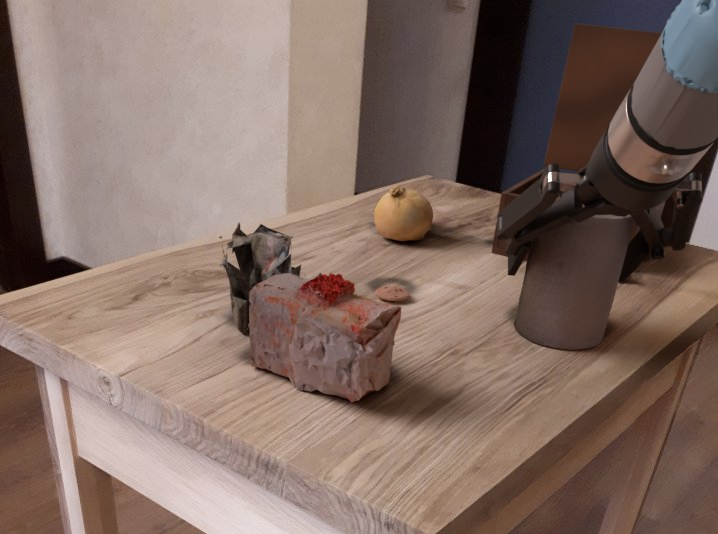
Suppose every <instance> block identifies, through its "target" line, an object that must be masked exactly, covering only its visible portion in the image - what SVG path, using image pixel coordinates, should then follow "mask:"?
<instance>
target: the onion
mask: <svg viewBox="0 0 718 534" xmlns="http://www.w3.org/2000/svg"><path fill="white" fill-rule="evenodd" d="M433 221H434V210H433V207H432V205H431V202H430V201H429V200H428V198H427V197H425V196H424V195H423V193H420V192H419V191H417V190H414V189H411V188H406V187H404V186H400V184H399V185H398V184H397V185H395V186H394V187H390V190H389V191H388V192H386V193H384V195H383V196H382V197H381V198H380V199H379V201H378V202H377V204H376V207H375V209H374V211H373V222H374V226H375V228H376V231H377V232H378V235H380V236H382V237H383V238H385V239H390V240H395V241H397V242H407V241H413V242H415V241H420V240H422V239H424V237H425V235H426V234H427V232H428V231H429V229H430V227H432V226H431V225H432V224H433Z"/></svg>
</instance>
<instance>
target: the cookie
mask: <svg viewBox="0 0 718 534" xmlns="http://www.w3.org/2000/svg"><path fill="white" fill-rule="evenodd" d="M374 294H375V295H376V296H377V297H378V298H379V299H382V300H384V301H389V302H401V301H405V300H407V299H409V298H410V296H411V294H410V292H409V290H407V289H405V288H403V287H401V286H397V285H383V286H380V287H378V288H377V289H375V290H374Z"/></svg>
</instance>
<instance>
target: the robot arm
mask: <svg viewBox="0 0 718 534" xmlns="http://www.w3.org/2000/svg"><path fill="white" fill-rule="evenodd" d="M661 33H662V34H661V36H660V38H659V39H658V41H657V43H656V45H655V46H654V48H653V50H652V52H651V54H650V55H649V57H648V59H647V61H646V63H645V64H644V66H643V68H642V70H641V72H640V73H639V75H638V77H637V79H636V80H635V82H634V84H633V85H632V87H631V88H630V90H629V92H628V93H627V95H626V97H625V98H624V100H623V102H622V103H621V105H620V106H619V108H618V110H617V111H616V113H615V115H614V117H613V119H612V120H611V122H610V124H609V126H608V127H607V129H606V130H605V132H604V134H603V136H602V137H601V139H600V141H599V142H598V144H597V146H596V147H595V149H594V151H593V153H592V156H591V158H590V161H589V163H588V164H587V165H586V166H585V167H583V168H581V169H580V170H579V171H578V172H576V173H569V172H564V173H560V172H561V169H560V166H559V165H558V164H549V165H547V166H545V168H544V169H545V170H544V172H543V174H542V176H541V178H540V179H539V180H537V181H536V182H535V183H534V184H532V185H531V186H530V187H529V188H528V189H526V190H525V191H524V192H523V193H522V194H520V195H519V196H518V197H517V198H516V199H514V200H513V201H512V202H511V203H510V204H508V205H507V206H506V207H505V208H504V209H502V210H501V211H500V212H499V213H498V212H497V214H496V223H497V239H498V240H506V255H508V256H507V276H511V277H513V276H514V277H515V276H516V274H517V273H518V271H519V269H520V267H521V266H522V264H523V262H524V261H525V260H524V259H525V257H526V255H527V253H528V252H529V250H530V248H531V240H533V239H535V238H537V237H539V236H541V235H543V234H545V233H548V232H550V231H552V230H554V229H556V228H558V227H560V226H562V225H565V224H567V223H569V222H571V221H573V220H574V221H576V222H578V223H579V222H582V221H584V220H586V219H588V218H590V217H593V216H595V215H609V214H610V215H615V216H623V217H626V216H627V215H630V216H632V218H633V220H634V222H635V224H636V226H639V227H640V230H639V232H638V233H637V234H636V235H635V237H634V238H633V239H632V240H631V241H630V243H629V244H628V248H627V252H626V255H625V259H624V263H623V267H622V270H621V274H620V277H619V281H618V283H619V282H622V283H625V281H626V280H628V278H629V277H630V276H631V275H632V274H633V273H634V272H635V271H636V270H637V268H638V267H639V266H640V265H641V264H643V263H644V264H647V263H648V262H650V260H653V261H660V260H662V259H664V258H665V248H671V250H672V251H674V252H676V251H677V252H678V251H682V250H684V249H685V248H686V243H687V239H688V235H689V230H690V225H691V221H692V216H693V212H694V211H695V210H696V209H697V208H698V206H699V205H700V204H701V203H702V202H703V178H702V177H703V176H702V173H701V172H698V171H694V172H691V171H692V170H693V169H694V168H695V166H696V165H697V164H698V163H699V162H700V160H702V158H703V157H704V156H705V155H706V153H707V152H708V150H710V148H711V147H712V146H713V145H714V143H715V142H717V140H718V0H681V1H680V2H679V3H678V4H677V5H676V7H675V8H674V9H673V11H672V12H671V14H670V17H668V19H667V21H666V24H665V26H664V28H663V30H662V32H661ZM690 172H691V173H690ZM671 197H672V201H673V202H674V207H673V213H672V219H671V226H670V227H665V226H664V224H663V221H662V218H661V219H660V216H659V214H658V211H657V209H656V206H658V205H660V204H662V203H663V202H664V201H665V202H667V200H669V199H670V198H671ZM583 205H584V206H585V207H583Z"/></svg>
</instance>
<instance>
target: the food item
mask: <svg viewBox="0 0 718 534" xmlns="http://www.w3.org/2000/svg"><path fill="white" fill-rule="evenodd" d="M355 287H356V284H355V283H354V282H351V281H350V280H349V279H346V280H345V279H344V277H343V274H340V273H337V274H335V273H332V272H330V273H329V274H328V275H327V274H326V273H324V274H322V272H319V273H318V274H317V275H316V276H315V277H314V278H311V279H308V278H304V277H298V276H296V275H293V274H291V273H286V274H278V275H273V276H271V277H270V278H268V279H267V280H264V281H262V282H260V283H259V284H257V285H255V286H254V287H253V288H252V290H251V291H250V293H249V300H250V305H249V360H248V361H249V364H250V366H251V367H253V368H258V369H261V370H267V371H269V372H272V373H273V374H276V375H279V376H282V377H285V378H287V379H289V380H290V382H291V384H292V386H293V387H294V388H295V389H297V390H298V391H301V392H302V391H306V392H311V393H312V392H314V391H319V392H320V393H322V394H326V395H330V396H337V397H339V398H343V399H345V400H348V401H349V402H350V403H354V402H356V401H358V402H359V401H360V400H361V399H362V398H364V397H365V396H367V395H370V394H371V393H373V392H378V391H380V390H381V389H382V388H384V387H386V386H387V385H388V384H389V383H390V376H391V365H392V361H393V351H394V346H395V337H396V333H397V330H398V328H399V325H400V322H401V319H402V307H401V306H399V305H398V306H397V305H394V304H393V305H392V304H391V305H390V304H388V303H386V302H381V301H377V300H374V299H372V298H369V297H366V296H361V295H358V294H355V291H356V288H355Z"/></svg>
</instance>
